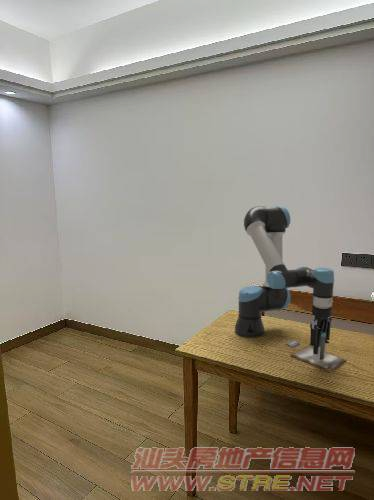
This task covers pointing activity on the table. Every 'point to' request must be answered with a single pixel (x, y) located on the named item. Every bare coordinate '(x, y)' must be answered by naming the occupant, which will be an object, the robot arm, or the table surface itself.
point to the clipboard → (307, 355)
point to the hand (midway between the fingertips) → (318, 358)
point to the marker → (322, 346)
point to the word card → (292, 343)
